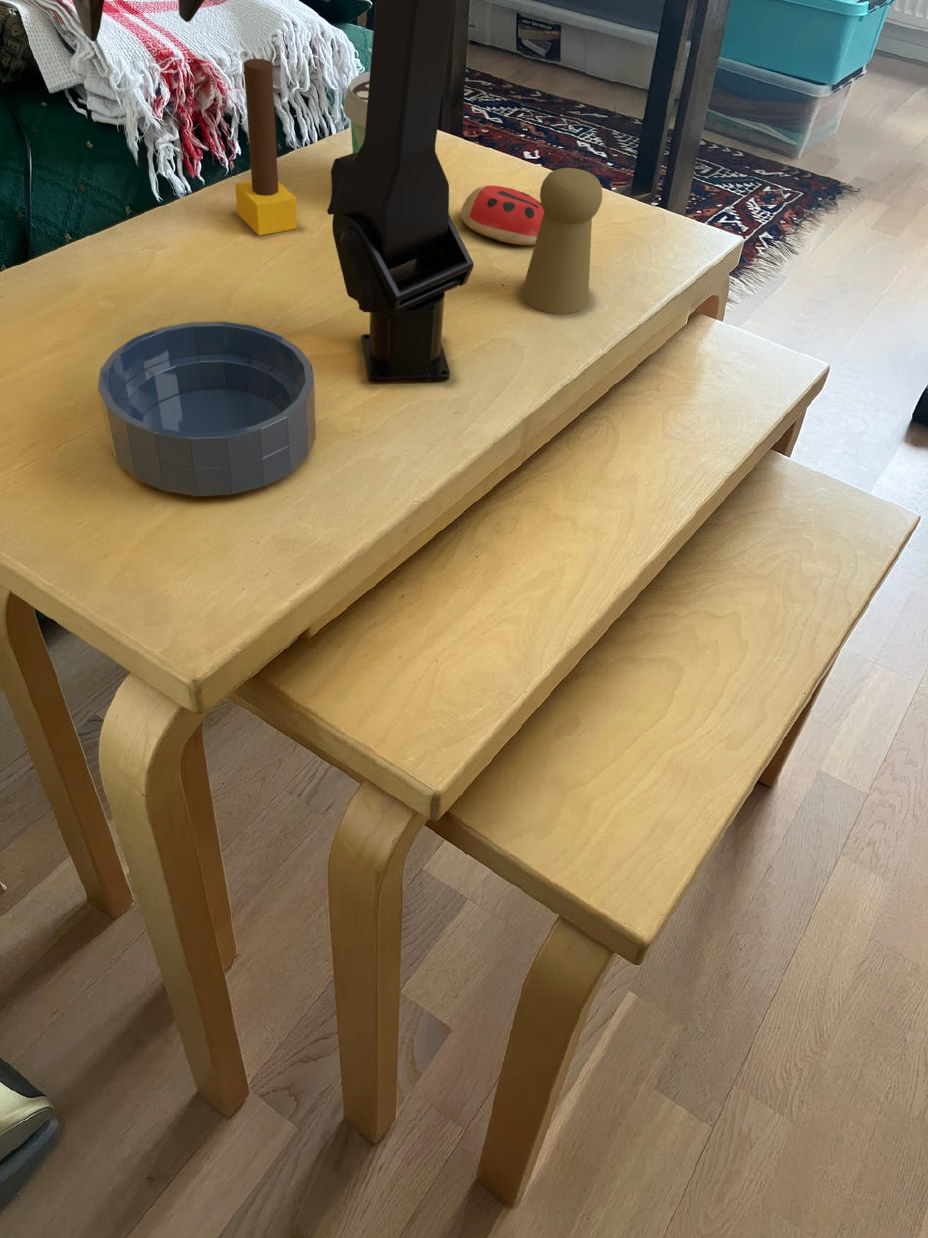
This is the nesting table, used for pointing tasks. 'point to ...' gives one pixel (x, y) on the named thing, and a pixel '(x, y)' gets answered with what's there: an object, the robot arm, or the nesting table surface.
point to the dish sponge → (263, 159)
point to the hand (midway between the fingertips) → (138, 27)
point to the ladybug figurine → (503, 214)
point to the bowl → (208, 407)
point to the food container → (357, 108)
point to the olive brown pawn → (563, 242)
